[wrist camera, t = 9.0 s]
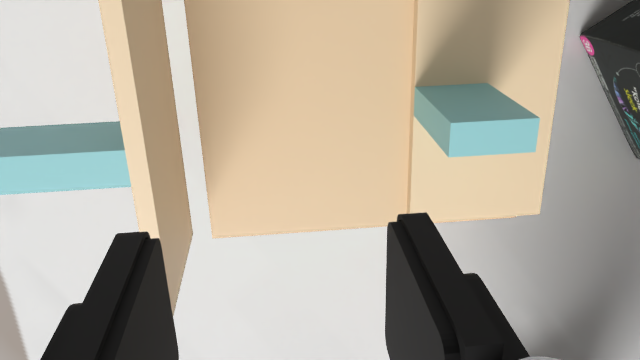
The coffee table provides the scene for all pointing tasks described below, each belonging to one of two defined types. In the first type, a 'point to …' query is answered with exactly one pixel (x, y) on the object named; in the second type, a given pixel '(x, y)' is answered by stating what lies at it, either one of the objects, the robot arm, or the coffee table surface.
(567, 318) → the coffee table surface
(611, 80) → the tampon box
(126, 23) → the flap
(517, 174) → the carton
